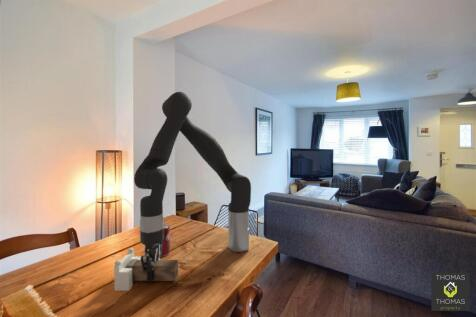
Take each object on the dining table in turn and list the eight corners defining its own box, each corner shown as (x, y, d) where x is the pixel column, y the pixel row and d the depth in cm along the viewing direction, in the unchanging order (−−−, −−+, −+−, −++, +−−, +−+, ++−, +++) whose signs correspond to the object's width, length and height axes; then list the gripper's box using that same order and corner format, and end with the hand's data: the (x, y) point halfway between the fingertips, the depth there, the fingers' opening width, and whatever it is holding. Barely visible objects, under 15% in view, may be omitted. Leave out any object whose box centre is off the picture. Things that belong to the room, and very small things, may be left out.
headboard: (142, 272, 84) (142, 247, 83) (128, 290, 73) (128, 261, 73) (130, 272, 84) (129, 247, 83) (114, 290, 74) (113, 261, 73)
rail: (178, 273, 81) (177, 259, 80) (174, 280, 77) (174, 265, 76) (132, 273, 81) (131, 259, 81) (126, 280, 77) (126, 265, 76)
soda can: (153, 259, 94) (152, 230, 93) (151, 251, 100) (150, 224, 100) (171, 255, 97) (171, 227, 96) (168, 248, 104) (167, 222, 103)
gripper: (149, 220, 85) (150, 265, 86) (131, 235, 71) (132, 289, 72) (169, 220, 85) (170, 265, 86) (155, 235, 71) (156, 289, 72)
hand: (153, 276), depth 79 cm, fingers closed on rail, 4 cm apart
